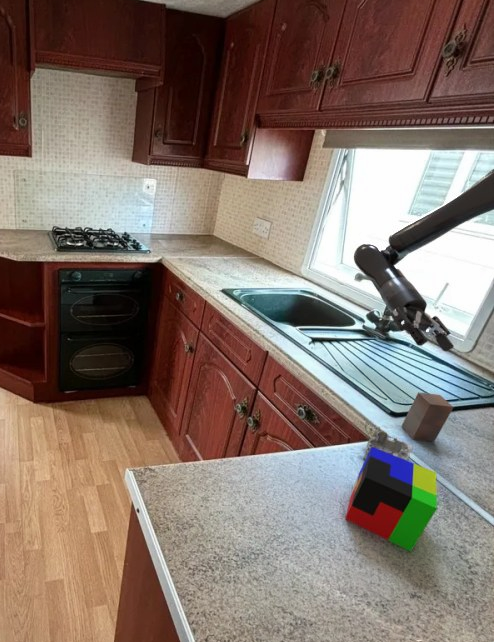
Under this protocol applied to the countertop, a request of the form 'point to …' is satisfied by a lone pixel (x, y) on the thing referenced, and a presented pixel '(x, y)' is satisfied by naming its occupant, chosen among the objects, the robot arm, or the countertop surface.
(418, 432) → the walnut block
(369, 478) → the puzzle toy
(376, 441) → the egg carton
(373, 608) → the countertop surface
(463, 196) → the robot arm
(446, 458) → the countertop surface
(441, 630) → the countertop surface
